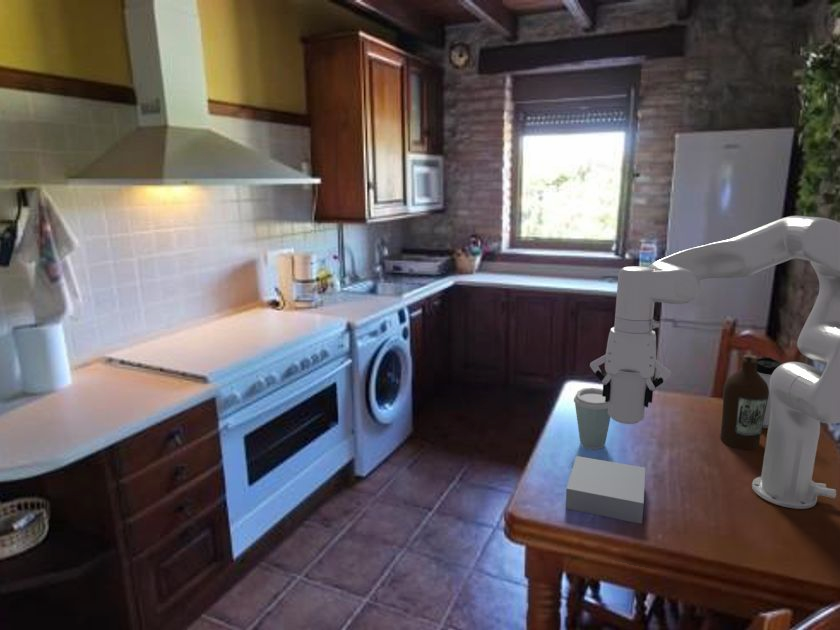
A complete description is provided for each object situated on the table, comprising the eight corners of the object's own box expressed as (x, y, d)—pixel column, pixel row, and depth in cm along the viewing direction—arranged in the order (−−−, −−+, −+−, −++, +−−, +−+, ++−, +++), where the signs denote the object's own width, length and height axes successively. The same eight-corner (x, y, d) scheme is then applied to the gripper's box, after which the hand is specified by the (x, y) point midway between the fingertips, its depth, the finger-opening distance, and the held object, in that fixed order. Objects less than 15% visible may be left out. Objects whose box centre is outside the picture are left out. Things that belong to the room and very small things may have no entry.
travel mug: (771, 422, 165) (781, 358, 161) (771, 430, 160) (781, 365, 155) (747, 417, 169) (756, 355, 164) (746, 425, 163) (755, 361, 158)
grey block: (643, 486, 132) (645, 467, 131) (641, 524, 118) (643, 503, 117) (575, 474, 138) (576, 455, 137) (565, 508, 124) (566, 488, 123)
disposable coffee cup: (614, 454, 148) (618, 402, 144) (573, 451, 150) (575, 400, 146) (608, 436, 158) (611, 387, 154) (569, 434, 160) (572, 385, 156)
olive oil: (711, 432, 159) (720, 350, 153) (749, 433, 158) (760, 350, 152) (728, 450, 149) (739, 362, 143) (769, 451, 148) (782, 362, 142)
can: (614, 408, 127) (618, 359, 124) (648, 417, 123) (652, 366, 120) (602, 419, 122) (606, 368, 119) (636, 428, 117) (641, 375, 114)
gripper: (677, 324, 117) (669, 401, 121) (592, 317, 124) (587, 391, 128) (678, 333, 111) (670, 414, 115) (588, 325, 117) (583, 403, 121)
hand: (626, 401), depth 121 cm, fingers closed on can, 7 cm apart
